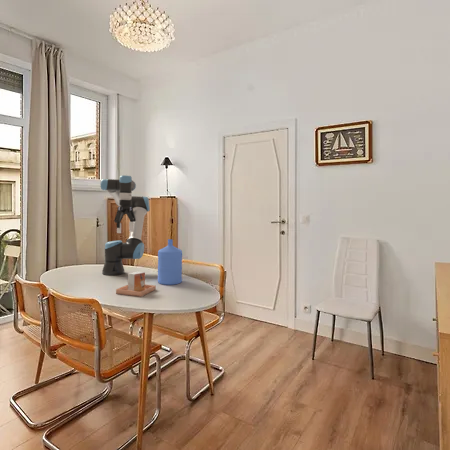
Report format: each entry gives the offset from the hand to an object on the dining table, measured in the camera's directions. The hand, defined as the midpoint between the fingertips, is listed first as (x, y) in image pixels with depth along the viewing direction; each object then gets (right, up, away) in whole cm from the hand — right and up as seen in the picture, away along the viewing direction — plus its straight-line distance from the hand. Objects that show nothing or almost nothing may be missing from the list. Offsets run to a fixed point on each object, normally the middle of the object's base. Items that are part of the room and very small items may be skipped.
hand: (125, 232), depth 214 cm
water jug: (+29, -33, 0) cm, 44 cm away
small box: (+14, -33, -25) cm, 44 cm away
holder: (+14, -34, -25) cm, 44 cm away
